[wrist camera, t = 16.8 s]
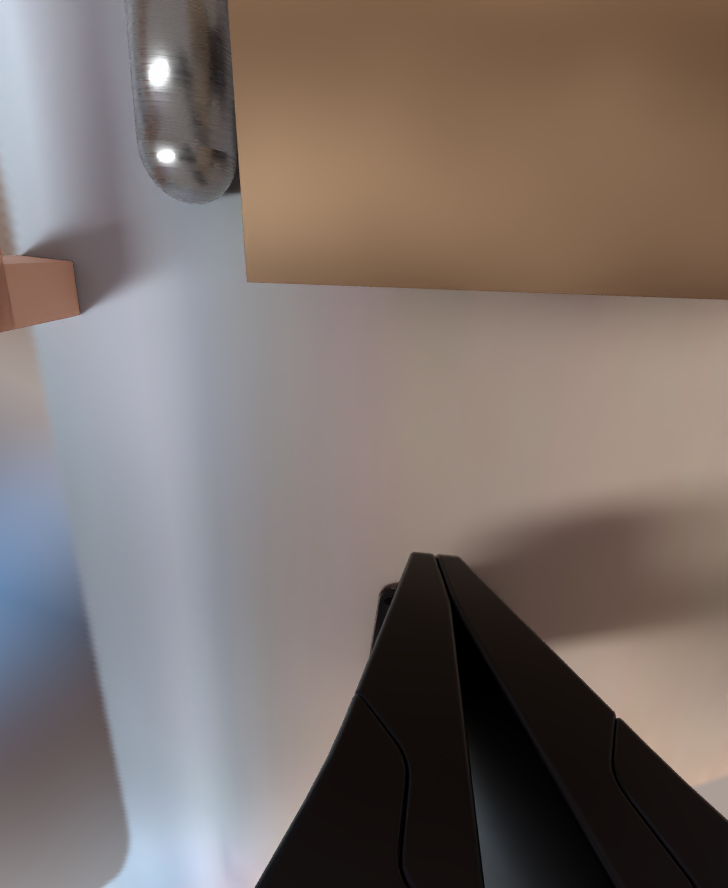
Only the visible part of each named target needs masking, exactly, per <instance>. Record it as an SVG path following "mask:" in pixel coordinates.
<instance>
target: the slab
mask: <svg viewBox="0 0 728 888" xmlns="http://www.w3.org/2000/svg"><path fill="white" fill-rule="evenodd" d="M228 13H229V28H230V42H231V57H232V71H233V86H234V100H235V115H236V129H237V144H238V158H239V173H240V187H241V202H242V216H243V231H244V245H245V260H246V274H247V282H260V283H287V284H314V285H342V286H369V287H396V288H423V289H451V290H478V291H505V292H532V293H560V294H587V295H614V296H642V297H669V298H696V299H723V300H728V0H228Z"/></svg>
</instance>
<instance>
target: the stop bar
mask: <svg viewBox="0 0 728 888" xmlns="http://www.w3.org/2000/svg"><path fill="white" fill-rule="evenodd" d="M77 315H80V310H79V303H78V296H77V289H76V282H75V275H74V268H73V262H72V261H64V260H55V259H47V258H38V257H30V256H21V255H7V256H2V254H1V249H0V332H4V331H9V330H13V329H18V328H23V327H27V326H32V325H36V324H41V323H45V322H50V321H54V320H59V319H63V318H68V317H73V316H77Z"/></svg>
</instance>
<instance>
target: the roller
mask: <svg viewBox="0 0 728 888" xmlns="http://www.w3.org/2000/svg"><path fill="white" fill-rule="evenodd" d="M125 10H126V21H127V33H128V44H129V55H130V66H131V78H132V89H133V100H134V111H135V123H136V134H137V144H138V149H139V154H140V157H141V160H142V162H143V165H144V167H145V169H146V171H147V172H148V174H149V176H150V177H151V178H152V180H153V181H154V182H155V183H156V185H157V186H159V187H160V188H161V189H162V190H163V191H164V192H165V193H167V194H168V195H170V196H171V197H173V198H175V199H177V200H180V201H182V202H186V203H190V204H203V203H208V202H211V201H213V200H215V199H217V198H219V197H220V196H221V195H223V194H224V193H225V192H226V190H227V189H228V188H229V187H230V185H231V183H232V181H233V179H234V175H235V171H236V164H237V132H236V115H235V100H234V86H233V71H232V57H231V42H230V28H229V13H228V0H125Z"/></svg>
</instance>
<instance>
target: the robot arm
mask: <svg viewBox="0 0 728 888" xmlns="http://www.w3.org/2000/svg"><path fill="white" fill-rule="evenodd" d="M386 598H392V599H389V600H388V599H386ZM255 888H728V820H727V819H726V818H725V817H724V816H723V815H721V814H720V813H719V812H718V811H717V810H716V809H715V808H714V807H713V806H712V805H710V804H709V803H708V802H707V801H706V800H705V799H704V798H703V797H702V796H700V795H699V794H698V793H697V792H696V791H695V790H694V789H693V788H692V787H691V786H690V785H688V784H687V783H686V782H685V781H684V780H683V779H682V778H681V777H680V776H679V775H678V774H677V773H676V772H675V771H674V770H673V769H672V768H671V767H670V766H669V765H668V764H667V763H666V762H665V761H664V760H663V759H662V758H661V757H659V756H658V755H657V754H656V753H655V752H654V751H653V750H652V749H651V748H650V747H649V746H648V745H647V744H646V743H645V742H644V741H643V740H642V739H641V738H640V737H639V736H638V735H637V734H636V733H635V732H634V731H633V730H632V729H631V728H630V727H629V726H628V725H627V724H626V723H625V722H624V721H623V720H622V719H621V718H616V714H615V712H614V711H613V710H612V709H611V708H610V707H609V706H608V705H607V704H606V703H605V702H604V701H603V700H602V699H601V698H600V697H599V696H598V695H597V694H596V693H595V692H594V691H593V690H592V689H591V688H590V687H589V686H588V685H587V684H586V683H585V682H584V681H583V680H582V679H581V678H580V677H579V676H578V675H577V674H576V673H575V672H574V671H573V670H572V669H571V668H570V667H569V666H568V665H567V664H566V663H565V662H564V661H563V660H562V659H561V658H560V657H559V656H558V655H557V654H556V653H555V652H554V651H553V650H552V649H551V648H550V647H549V646H548V645H547V644H546V643H545V642H544V641H543V640H542V639H541V638H540V637H539V636H538V635H537V634H536V633H535V632H534V631H533V630H532V629H531V628H530V627H529V626H528V625H527V624H526V623H525V622H524V621H523V620H522V619H521V618H520V617H519V616H518V615H517V614H516V613H515V612H514V611H513V610H512V609H511V608H510V607H509V606H508V605H507V604H506V603H505V602H504V601H503V600H502V599H501V598H500V597H499V596H498V595H497V594H496V593H495V592H494V591H493V590H492V589H491V588H490V587H489V586H488V585H487V584H486V583H485V582H484V581H483V580H482V579H481V578H480V577H479V576H478V575H477V574H476V573H475V572H474V571H473V570H472V569H471V568H470V567H469V566H468V565H467V564H466V563H465V562H464V561H463V560H462V559H461V558H459V557H458V556H451V555H440V554H438V555H436V556H434V555H433V554H430V553H420V552H413V553H411V554H410V557H409V559H408V562H407V564H406V567H405V569H404V572H403V574H402V577H401V579H400V582H399V584H398V587H397V589H391V588H389V589H384V590H382V591H381V592H380V594H379V600H378V606H377V612H376V619H375V625H374V631H373V637H372V644H371V650H370V656H369V659H368V662H367V664H366V667H365V669H364V672H363V674H362V677H361V679H360V682H359V684H358V687H357V689H356V692H355V696H354V697H353V698H352V701H351V703H350V706H349V708H348V711H347V713H346V716H345V719H344V721H343V723H342V725H341V728H340V730H339V732H338V734H337V737H336V739H335V741H334V743H333V746H332V748H331V750H330V752H329V755H328V757H327V759H326V761H325V762H324V764H323V766H322V768H321V770H320V772H319V774H318V776H317V778H316V780H315V781H314V783H313V785H312V787H311V789H310V791H309V793H308V795H307V797H306V799H305V800H304V802H303V804H302V806H301V808H300V809H299V811H298V813H297V815H296V816H295V818H294V820H293V822H292V823H291V825H290V827H289V829H288V830H287V832H286V834H285V836H284V837H283V839H282V841H281V843H280V844H279V846H278V848H277V850H276V851H275V853H274V855H273V857H272V858H271V860H270V862H269V864H268V865H267V867H266V869H265V871H264V872H263V874H262V876H261V878H260V879H259V881H258V883H257V885H256V886H255Z"/></svg>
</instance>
